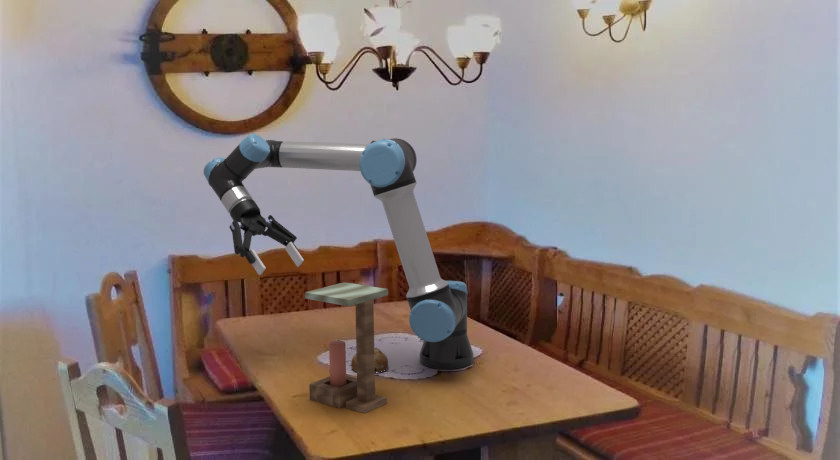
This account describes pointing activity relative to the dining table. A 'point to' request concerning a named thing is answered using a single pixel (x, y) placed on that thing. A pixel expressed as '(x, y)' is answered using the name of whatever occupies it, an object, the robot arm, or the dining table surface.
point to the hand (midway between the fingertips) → (282, 267)
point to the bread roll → (379, 360)
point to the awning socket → (362, 388)
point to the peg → (337, 363)
